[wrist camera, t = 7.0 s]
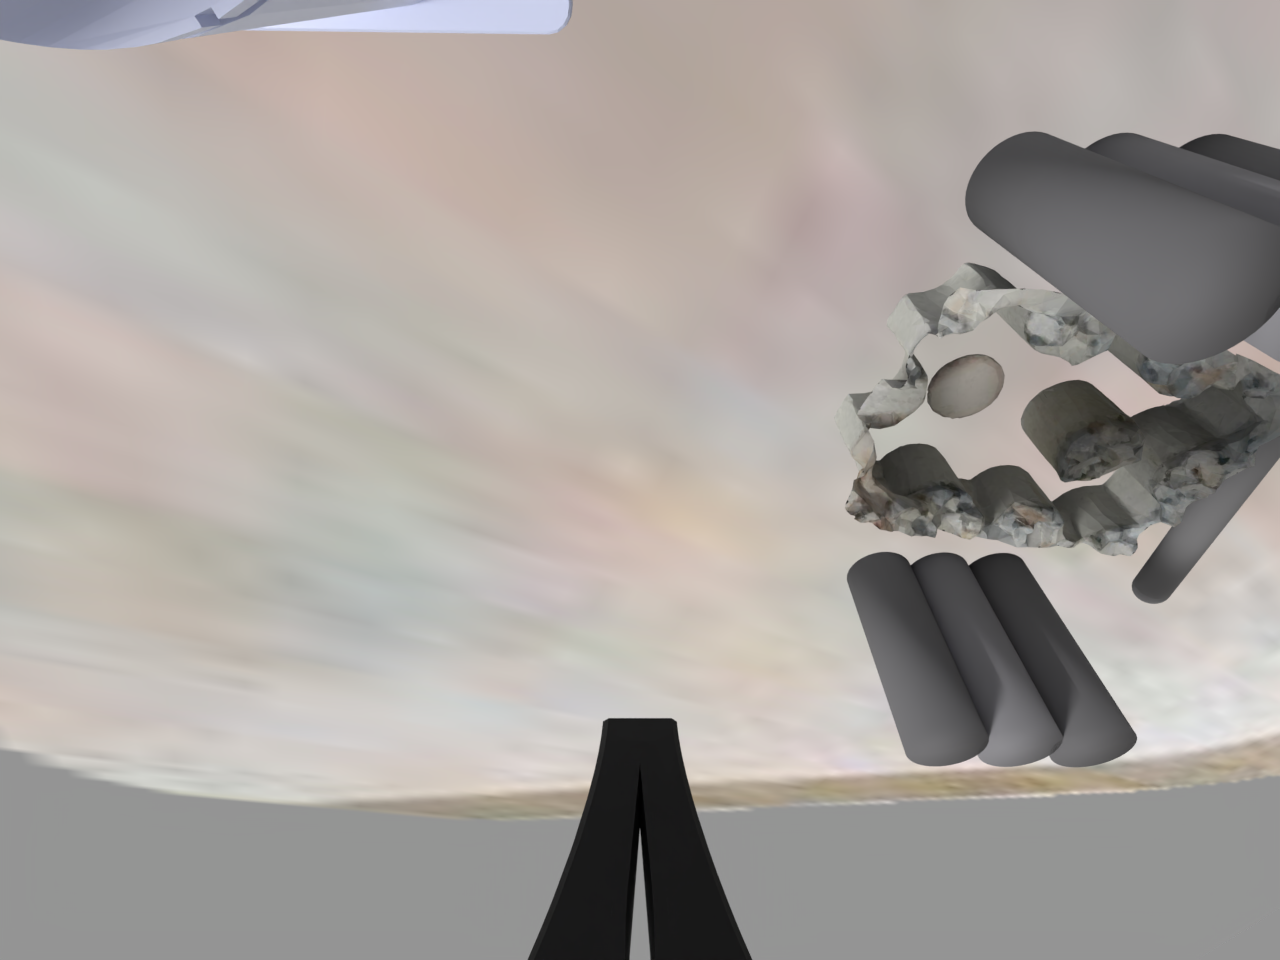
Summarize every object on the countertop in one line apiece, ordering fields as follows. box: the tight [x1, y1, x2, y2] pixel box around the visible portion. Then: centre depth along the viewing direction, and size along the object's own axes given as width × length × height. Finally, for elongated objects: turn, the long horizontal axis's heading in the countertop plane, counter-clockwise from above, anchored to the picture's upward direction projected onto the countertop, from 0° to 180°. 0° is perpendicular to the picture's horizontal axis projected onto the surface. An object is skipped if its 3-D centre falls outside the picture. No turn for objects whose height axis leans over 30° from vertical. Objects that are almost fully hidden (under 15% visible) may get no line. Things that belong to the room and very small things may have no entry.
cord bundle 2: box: [965, 131, 1280, 364], centre depth 13 cm, size 2×7×7 cm, turn 90°
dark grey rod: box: [1132, 436, 1280, 604], centre depth 20 cm, size 15×1×1 cm, turn 179°
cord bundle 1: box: [847, 552, 1137, 767], centre depth 22 cm, size 2×7×7 cm, turn 89°
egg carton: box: [834, 263, 1280, 556], centre depth 18 cm, size 11×8×4 cm
